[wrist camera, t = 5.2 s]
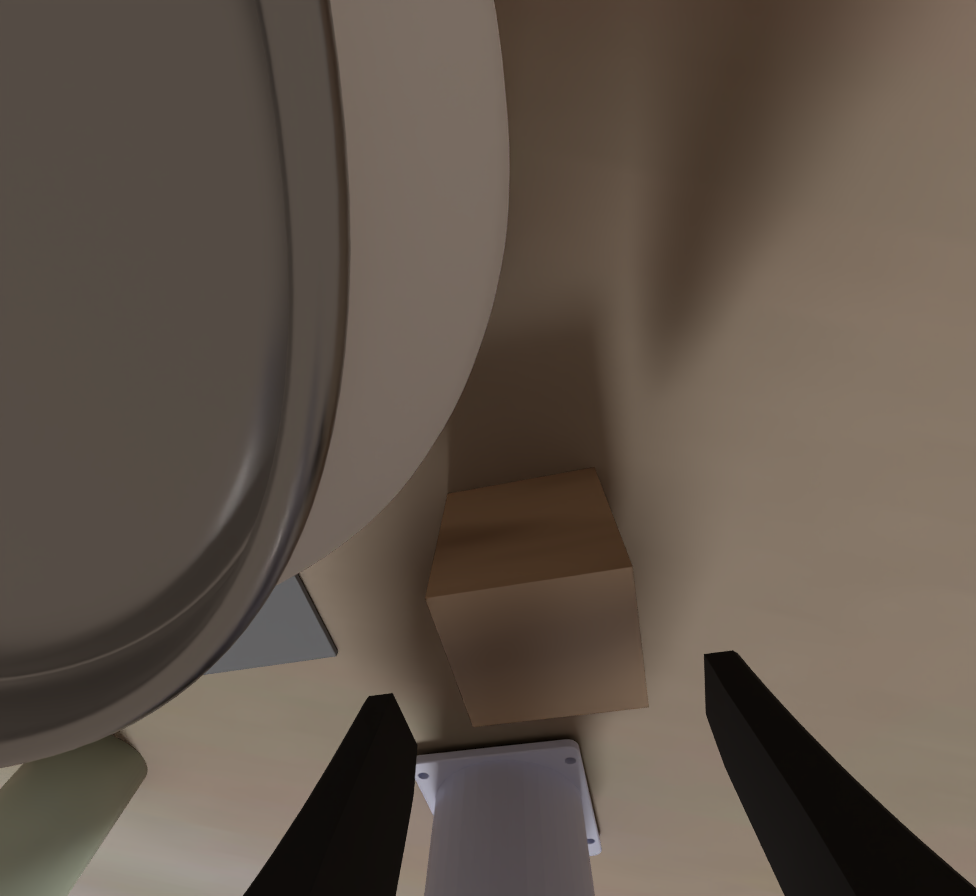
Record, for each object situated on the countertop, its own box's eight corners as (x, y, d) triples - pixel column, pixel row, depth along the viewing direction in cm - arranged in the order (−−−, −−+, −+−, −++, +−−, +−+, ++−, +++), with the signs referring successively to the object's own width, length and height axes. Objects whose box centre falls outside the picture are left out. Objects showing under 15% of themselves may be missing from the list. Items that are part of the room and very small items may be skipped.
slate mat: (337, 652, 19) (336, 656, 19) (51, 692, 21) (47, 696, 20) (165, 316, 13) (160, 317, 13) (-214, 411, 15) (-223, 413, 15)
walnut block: (610, 581, 17) (648, 707, 12) (481, 600, 18) (473, 727, 13) (593, 466, 15) (632, 567, 10) (447, 492, 16) (424, 598, 11)
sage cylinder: (165, 782, 24) (65, 946, 18) (82, 792, 24) (-39, 953, 19) (111, 722, 22) (-20, 886, 16) (22, 733, 22) (-134, 896, 17)
